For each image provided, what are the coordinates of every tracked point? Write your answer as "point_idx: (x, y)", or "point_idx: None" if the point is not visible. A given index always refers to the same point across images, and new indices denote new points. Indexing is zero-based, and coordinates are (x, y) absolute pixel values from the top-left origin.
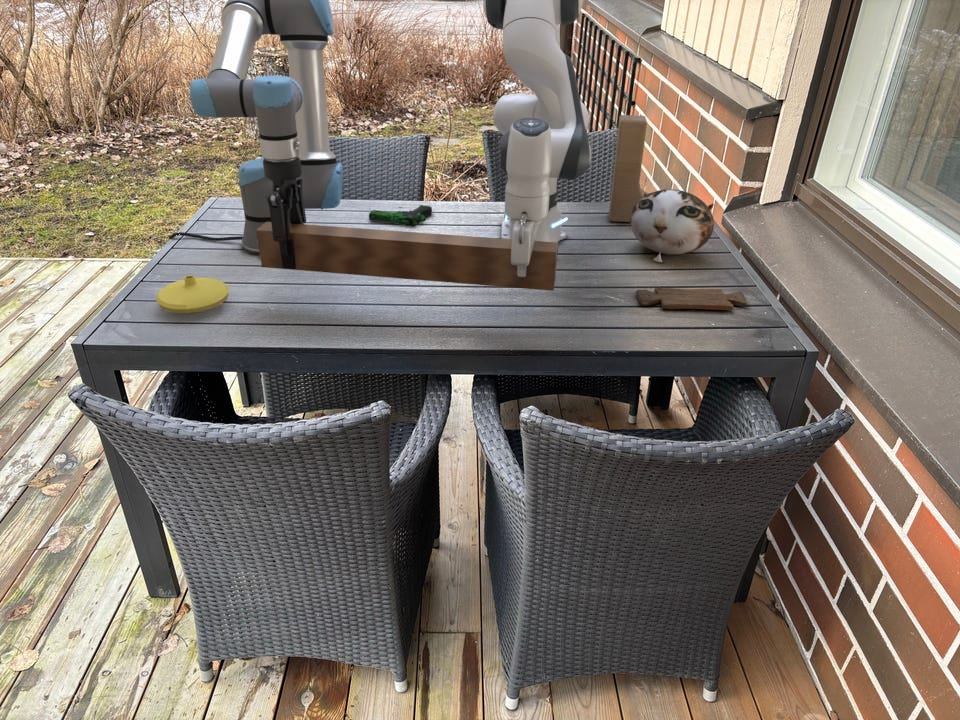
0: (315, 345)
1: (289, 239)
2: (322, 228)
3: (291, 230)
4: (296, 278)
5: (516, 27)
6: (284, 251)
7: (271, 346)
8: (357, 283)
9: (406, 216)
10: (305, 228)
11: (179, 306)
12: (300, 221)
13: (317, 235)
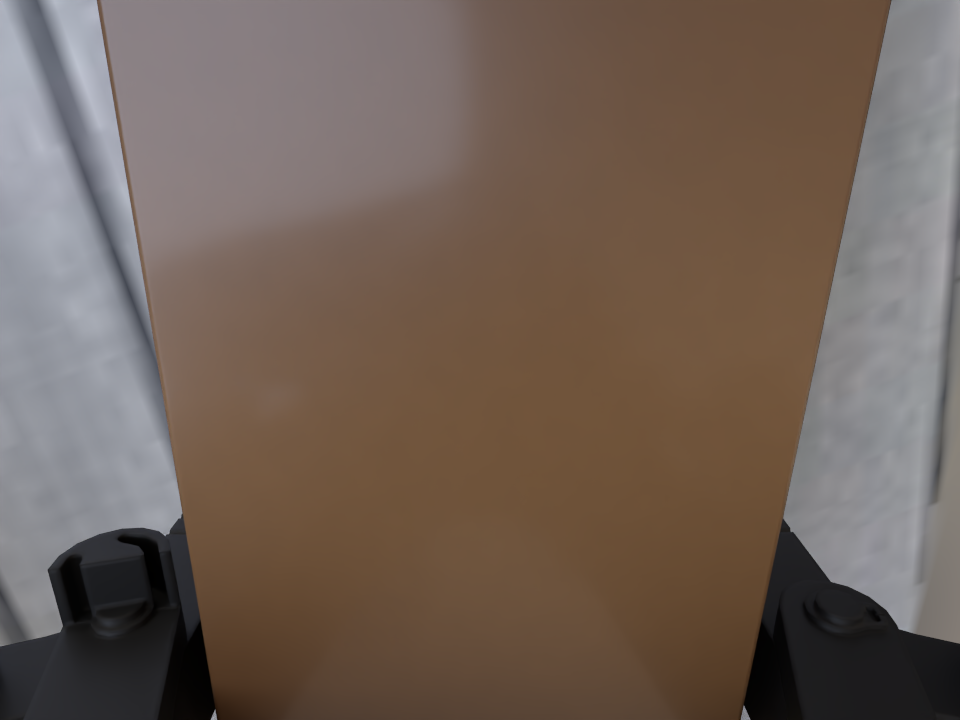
0: (946, 29)
1: (845, 601)
2: (345, 44)
3: (625, 707)
4: (105, 458)
5: None
6: None
7: (941, 286)
8: (16, 46)
9: None
10: (457, 492)
11: None
12: (150, 718)
13: (877, 16)
